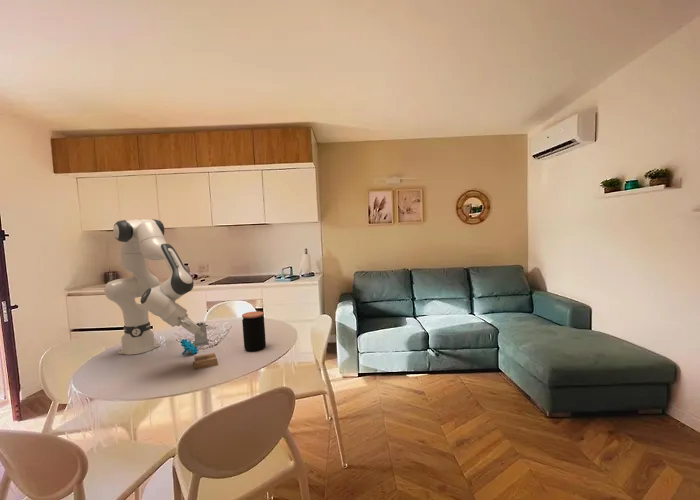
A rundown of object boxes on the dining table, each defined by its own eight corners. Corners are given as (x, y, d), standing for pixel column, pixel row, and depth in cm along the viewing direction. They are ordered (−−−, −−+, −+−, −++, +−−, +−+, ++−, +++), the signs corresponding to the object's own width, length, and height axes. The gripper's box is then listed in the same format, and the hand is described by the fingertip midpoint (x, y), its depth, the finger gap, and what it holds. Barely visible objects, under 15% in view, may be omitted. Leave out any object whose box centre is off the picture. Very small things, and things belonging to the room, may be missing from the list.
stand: (193, 362, 166) (192, 356, 166) (216, 358, 170) (215, 352, 170) (194, 370, 157) (193, 363, 157) (218, 365, 161) (217, 358, 161)
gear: (193, 353, 173) (178, 339, 174) (185, 362, 173) (170, 348, 174) (203, 349, 184) (189, 335, 185) (195, 357, 184) (181, 344, 185)
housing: (193, 343, 164) (192, 322, 163) (207, 341, 166) (206, 320, 166) (194, 347, 158) (192, 325, 158) (208, 344, 161) (207, 323, 160)
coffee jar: (265, 343, 188) (262, 310, 186) (267, 350, 178) (264, 314, 176) (244, 347, 184) (241, 312, 183) (244, 353, 174) (242, 317, 173)
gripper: (186, 314, 149) (212, 332, 155) (177, 306, 165) (201, 323, 172) (175, 326, 146) (202, 344, 153) (167, 318, 163) (192, 334, 169)
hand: (201, 333), depth 162 cm, fingers closed on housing, 5 cm apart
